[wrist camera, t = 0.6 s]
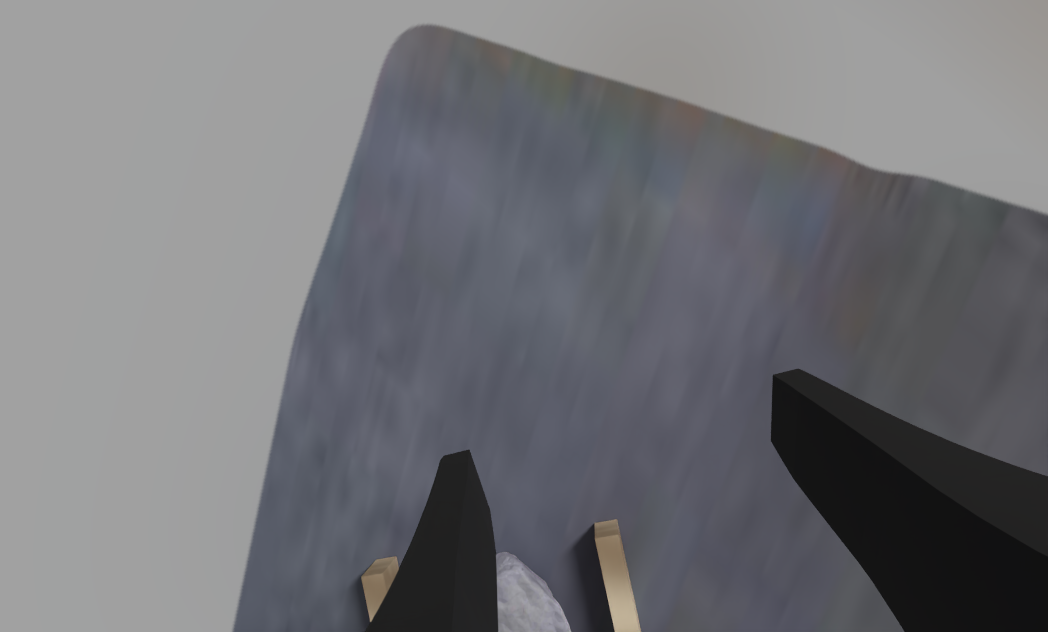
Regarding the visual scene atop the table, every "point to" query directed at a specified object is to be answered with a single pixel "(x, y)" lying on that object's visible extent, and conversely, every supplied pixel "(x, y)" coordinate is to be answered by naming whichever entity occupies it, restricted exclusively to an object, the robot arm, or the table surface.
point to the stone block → (525, 599)
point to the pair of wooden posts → (610, 561)
